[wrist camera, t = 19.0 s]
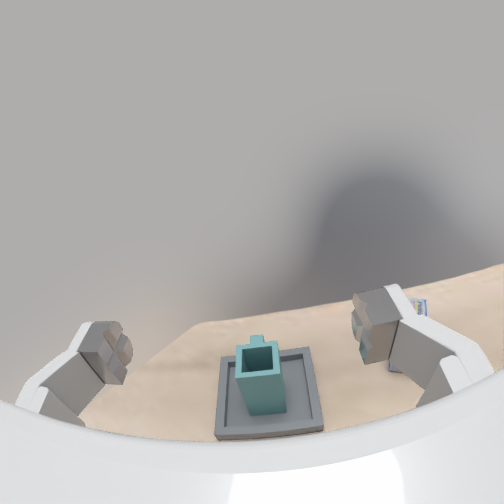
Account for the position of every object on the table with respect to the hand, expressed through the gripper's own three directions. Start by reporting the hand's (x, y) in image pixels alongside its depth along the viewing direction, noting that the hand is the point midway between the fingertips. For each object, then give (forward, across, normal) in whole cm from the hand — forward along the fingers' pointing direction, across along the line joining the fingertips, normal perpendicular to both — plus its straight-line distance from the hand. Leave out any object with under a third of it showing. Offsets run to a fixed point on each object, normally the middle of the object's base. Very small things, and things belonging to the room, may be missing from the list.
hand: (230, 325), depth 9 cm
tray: (+15, +2, +30) cm, 34 cm away
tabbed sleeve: (+14, +2, +29) cm, 33 cm away
